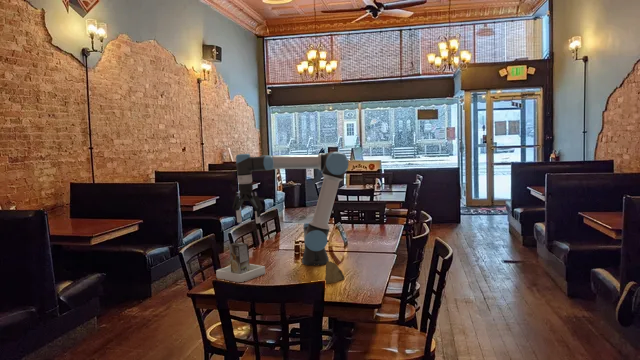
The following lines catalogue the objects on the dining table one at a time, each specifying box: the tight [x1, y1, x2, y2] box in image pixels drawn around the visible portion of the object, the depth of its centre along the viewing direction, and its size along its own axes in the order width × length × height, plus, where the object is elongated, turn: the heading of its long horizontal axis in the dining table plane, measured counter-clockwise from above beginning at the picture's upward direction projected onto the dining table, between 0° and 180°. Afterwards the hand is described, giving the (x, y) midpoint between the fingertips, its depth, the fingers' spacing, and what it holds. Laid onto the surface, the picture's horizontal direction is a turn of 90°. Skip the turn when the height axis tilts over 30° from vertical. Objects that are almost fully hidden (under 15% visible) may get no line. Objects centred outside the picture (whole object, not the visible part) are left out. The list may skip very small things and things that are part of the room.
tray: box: [215, 263, 266, 283], centre depth 250 cm, size 18×18×4 cm
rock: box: [324, 260, 345, 285], centre depth 233 cm, size 11×9×10 cm
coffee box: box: [228, 241, 251, 274], centre depth 250 cm, size 9×6×16 cm
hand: (248, 222), depth 253 cm, fingers open, 13 cm apart
